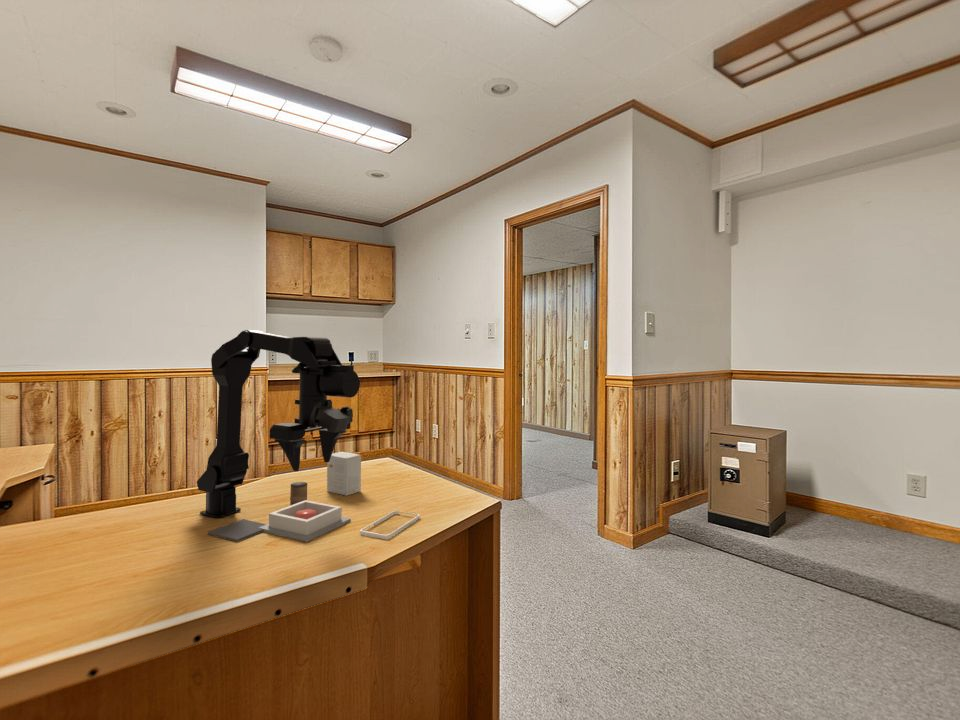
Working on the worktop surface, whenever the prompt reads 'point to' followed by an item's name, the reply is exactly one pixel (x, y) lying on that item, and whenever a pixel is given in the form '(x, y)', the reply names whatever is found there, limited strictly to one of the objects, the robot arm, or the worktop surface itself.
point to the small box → (344, 473)
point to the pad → (238, 530)
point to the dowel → (298, 492)
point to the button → (306, 513)
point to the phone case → (382, 536)
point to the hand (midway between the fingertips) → (312, 466)
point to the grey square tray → (305, 521)
